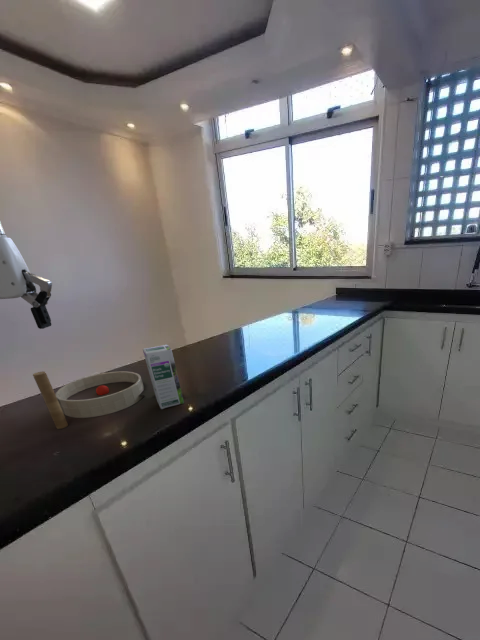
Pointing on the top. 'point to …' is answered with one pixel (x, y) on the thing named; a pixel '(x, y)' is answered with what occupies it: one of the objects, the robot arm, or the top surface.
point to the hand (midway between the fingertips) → (19, 328)
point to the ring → (102, 403)
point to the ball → (102, 390)
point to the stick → (50, 399)
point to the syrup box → (163, 375)
